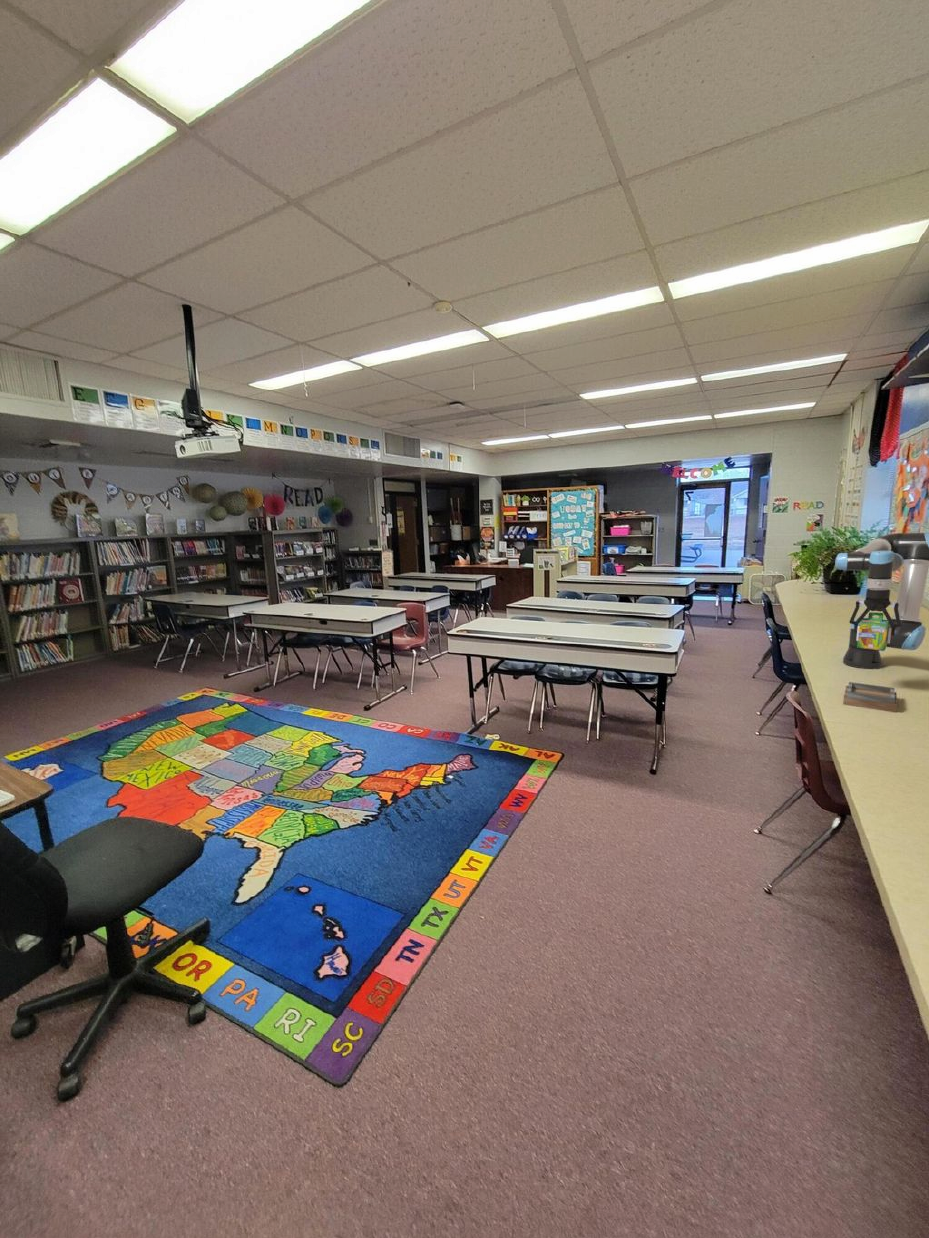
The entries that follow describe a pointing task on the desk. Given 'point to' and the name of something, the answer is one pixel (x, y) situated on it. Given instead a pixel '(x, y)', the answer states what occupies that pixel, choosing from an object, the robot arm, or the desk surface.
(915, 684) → the desk surface
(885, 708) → the square frame
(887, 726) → the desk surface
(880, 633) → the chalk box
